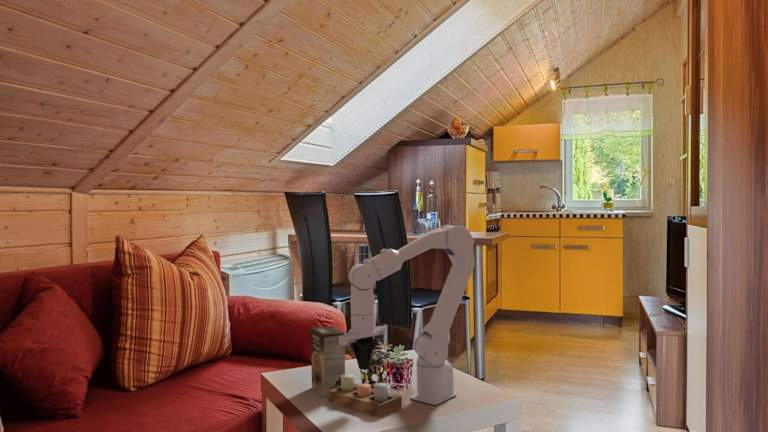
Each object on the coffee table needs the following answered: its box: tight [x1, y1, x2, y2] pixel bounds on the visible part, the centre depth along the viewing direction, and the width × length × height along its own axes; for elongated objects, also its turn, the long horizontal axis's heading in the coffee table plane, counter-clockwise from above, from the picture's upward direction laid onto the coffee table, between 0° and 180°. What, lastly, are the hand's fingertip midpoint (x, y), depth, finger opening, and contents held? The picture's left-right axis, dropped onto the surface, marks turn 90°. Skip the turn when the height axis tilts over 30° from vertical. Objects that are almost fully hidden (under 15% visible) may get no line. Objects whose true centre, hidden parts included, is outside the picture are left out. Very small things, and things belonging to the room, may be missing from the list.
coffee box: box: [310, 325, 346, 398], centre depth 155 cm, size 9×6×16 cm
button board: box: [327, 383, 403, 418], centre depth 144 cm, size 17×8×3 cm, turn 48°
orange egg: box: [357, 383, 372, 398], centre depth 144 cm, size 3×3×4 cm
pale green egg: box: [341, 373, 356, 393], centre depth 147 cm, size 3×3×4 cm
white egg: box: [373, 382, 389, 403], centre depth 140 cm, size 3×3×4 cm
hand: (363, 368), depth 144 cm, fingers closed
